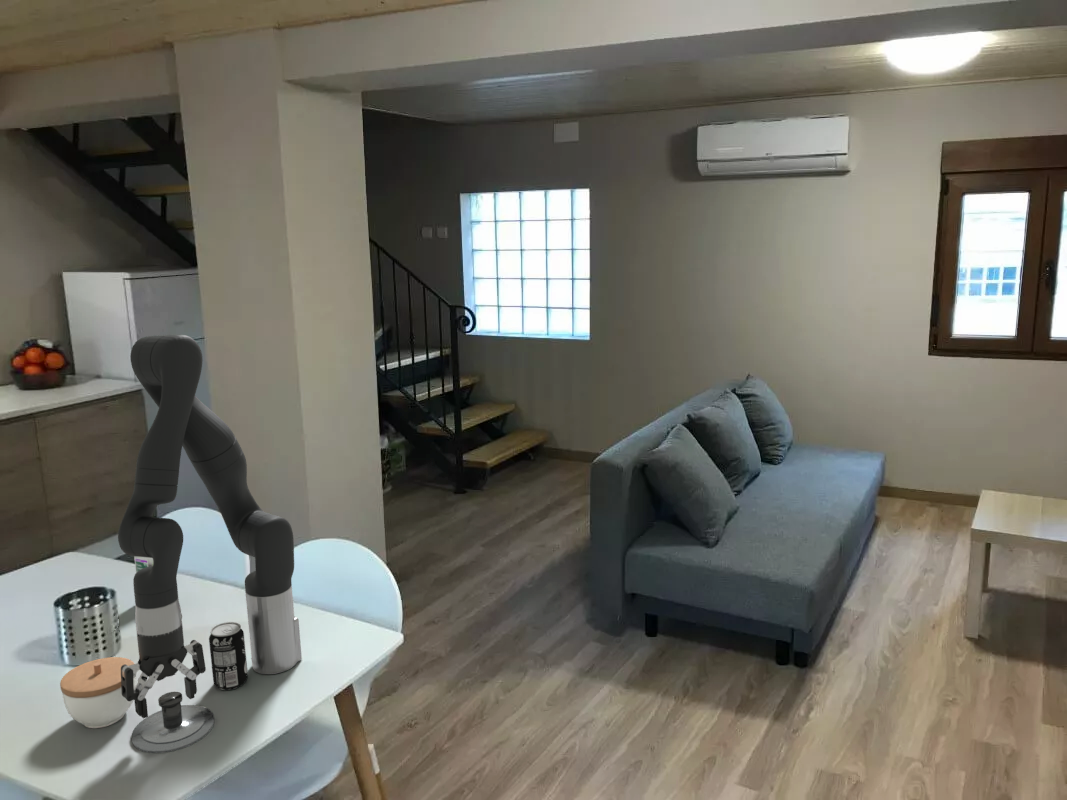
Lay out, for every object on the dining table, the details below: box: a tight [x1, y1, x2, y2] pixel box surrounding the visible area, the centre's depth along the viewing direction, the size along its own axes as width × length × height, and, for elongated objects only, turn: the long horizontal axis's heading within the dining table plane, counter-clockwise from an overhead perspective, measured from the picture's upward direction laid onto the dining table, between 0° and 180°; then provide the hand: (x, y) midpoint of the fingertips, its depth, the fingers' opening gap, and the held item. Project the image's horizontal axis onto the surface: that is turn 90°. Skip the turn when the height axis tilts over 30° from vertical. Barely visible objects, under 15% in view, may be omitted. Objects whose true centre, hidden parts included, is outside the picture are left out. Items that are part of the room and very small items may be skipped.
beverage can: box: [208, 621, 249, 691], centre depth 167 cm, size 7×7×12 cm
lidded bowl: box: [59, 656, 137, 729], centre depth 156 cm, size 13×13×11 cm
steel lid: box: [131, 691, 215, 754], centre depth 153 cm, size 14×14×7 cm
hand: (167, 706), depth 152 cm, fingers open, 8 cm apart
